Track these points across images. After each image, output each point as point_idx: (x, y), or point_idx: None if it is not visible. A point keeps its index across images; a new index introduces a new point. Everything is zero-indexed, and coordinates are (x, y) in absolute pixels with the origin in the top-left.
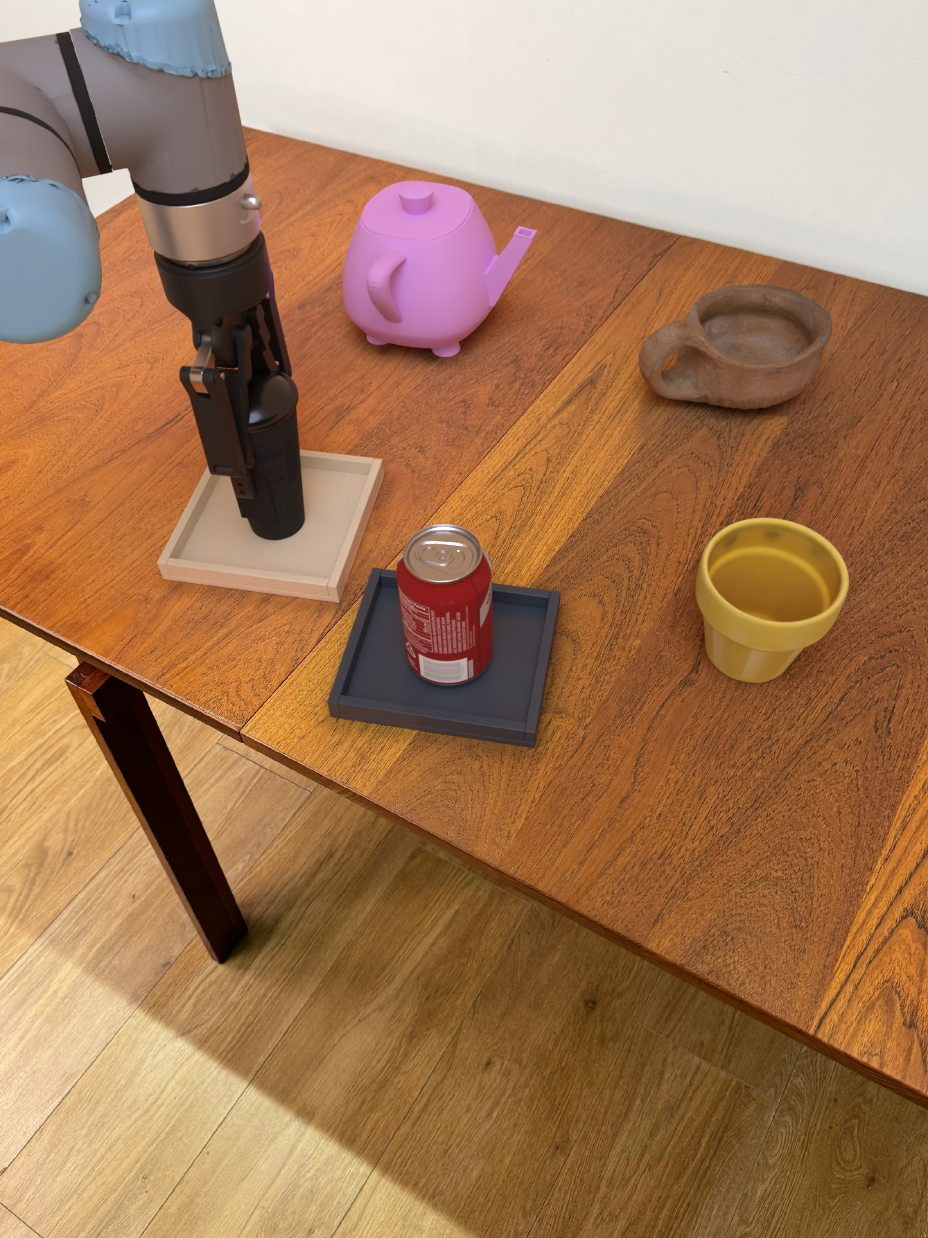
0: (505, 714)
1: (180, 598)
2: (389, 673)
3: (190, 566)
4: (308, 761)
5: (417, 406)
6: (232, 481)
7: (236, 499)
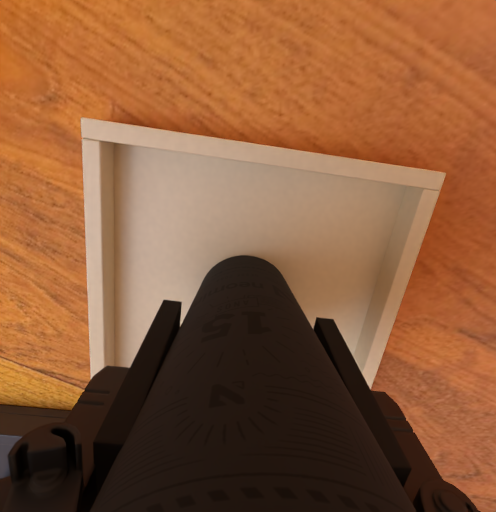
0: None
1: (67, 164)
2: (2, 452)
3: (84, 191)
4: None
5: (482, 428)
6: (68, 418)
7: (149, 328)
